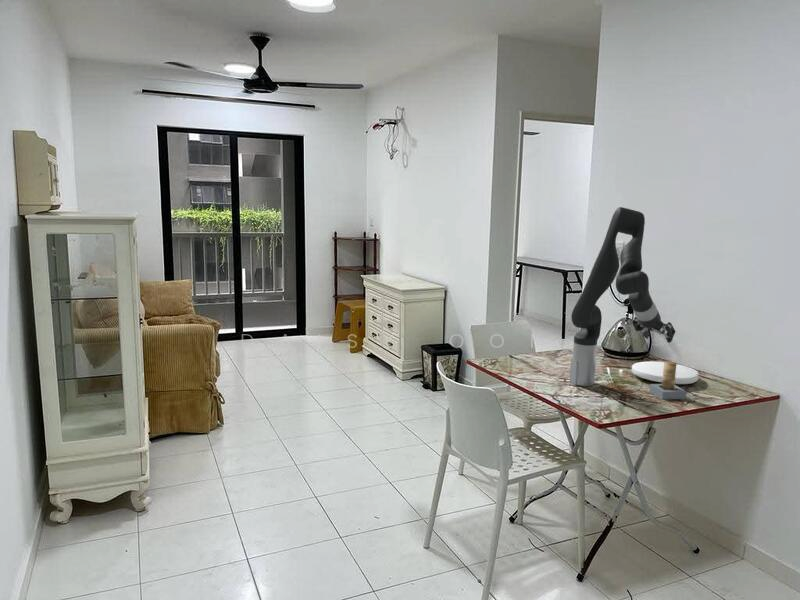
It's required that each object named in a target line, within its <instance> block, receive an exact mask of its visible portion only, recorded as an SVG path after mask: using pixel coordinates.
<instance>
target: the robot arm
mask: <svg viewBox="0 0 800 600" xmlns="http://www.w3.org/2000/svg"><path fill="white" fill-rule="evenodd" d="M645 223H646V220H645V214H644V213H643V212H641V211H637V210H634V209H631V208H628V207H623V206H620V207H617V208H616V210H615V211H614V212H613V215H612V216H611V220H610V223H609V226H608V228H607V232H606V235H605V236H604V237H605V238H604V241H603V243H602V245H601V248H600V250H599V253H598V255H597V257H596V259H595V262H594V263H593V266H592V268H591V271H590V274H589V277H588V278H587V281H586V283H585V285H584V288H583V291H582V293H581V294H580V295H579V296H580V297H579V298H578V300H577V302H576V303H575V306H574V307H573V310H572V311H571V322H572V324H573V325H574V326H575V328H578V329H579V331H578V332H576V334H575V335H574V337H573V347H572V349H573V351H572V358H571V359H570V367H569V381H570V382H571V383H572V384H573V385H575V386H581V387H591V386H594V385H595V381H596V380H595V379H596V366H597V349H598V340H599V339H600V335H601V330H602V329H601V327H602V318H603V317H602V312H601V309H600V308H599V306H598V305H597V302H598V300H599V299H600V298H601V297H602V295H603V294H604V293H605V292H607V290H608V289H609V288H610V286H611V285H612V284H613V283H614V280H615V279H616V280H615V288H616V290H617V292H618V293H619V294H621V295H623V296H627V295H628V301H629V304H630V305H631V308H632V310H633V314H634V315H635V317H634V318H633V320H632V321H631V323H632V326H633V328H634V330H635V331H636V332H639V333H641V334H642V335H643V337H644V338H645V339H649V337H650V335H651V334H650V332H656V333H658V334H659V335H661V336H664V337H665V339H666V342H667V343H668V344H670V343H672V341H673V339H674V336H675V334H676V330H675V328H674V326H673V324H672V323H671V322H669V321H668V322H667V323H664V322H663V321H662V319H661V315H660V313H659V310H658V308H657V306H656V304H655V302H654V301H653V299H652V295H651V294H650V291H649V289H650V281H649V276H648V274H647V273H645V272H644V271H642V270H643V260H642V247H643V242H644V241H643V239H644V233H645V231H644V230H645V226H646V225H645ZM618 233H621V234H624V235H629V236H632V238H631V239H630V240H629V241H628V242H627V243H626V244H625V245H624V246H623V248H622V249H621V251H620V257H619V255H618V251H617V245H616V243H617V242H616V241H617V240H616V239H617V236H618ZM619 259H620V260H619Z"/></svg>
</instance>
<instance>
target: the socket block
mask: <svg viewBox="0 0 800 600" xmlns="http://www.w3.org/2000/svg"><path fill="white" fill-rule="evenodd" d="M649 392H650V393H652V394H653V395H654V394H655V396H656V397H658V398H659V397H660V398H659V399H661V400H686V399H687V390H685V389H683V388H681V387H679V386H678V385H677V384H675V385H674V390H664V389H662V383H651V384H649ZM685 398H686V399H685Z"/></svg>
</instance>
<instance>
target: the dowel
mask: <svg viewBox="0 0 800 600" xmlns="http://www.w3.org/2000/svg"><path fill="white" fill-rule="evenodd" d="M663 362H664V369H663V380H662V382H661V384H662V389H664V390H674V385H676V384H675V374H676V364H677V363H676V362H673V361H663Z"/></svg>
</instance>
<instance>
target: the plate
mask: <svg viewBox="0 0 800 600" xmlns="http://www.w3.org/2000/svg"><path fill="white" fill-rule="evenodd" d="M664 362H665V361H653V360H652V361H649V360H648V361H640V362H635V363H633V364H632V365H631V373H633V375H635V376H636V377H638V378H641V379H644V380H645V379H646V380H648V381H651V382H658V383H662V380H663V369H664ZM699 373H700V372H699V371H698V370H695V369H694V368H691V367H690V366H685V365H682V364H678V363H676V374H675V385H688V384H689V385H690V384H694V383H695V382H697V381H698V380H699V378H700V374H699Z"/></svg>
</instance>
